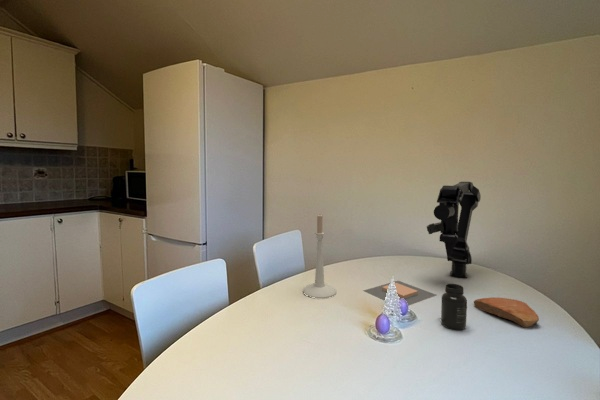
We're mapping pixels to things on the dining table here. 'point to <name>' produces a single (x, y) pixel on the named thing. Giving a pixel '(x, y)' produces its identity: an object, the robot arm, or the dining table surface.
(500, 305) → the ceramic shard
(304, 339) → the dining table surface
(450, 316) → the supplement bottle
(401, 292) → the tile
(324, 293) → the candlestick
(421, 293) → the mat
